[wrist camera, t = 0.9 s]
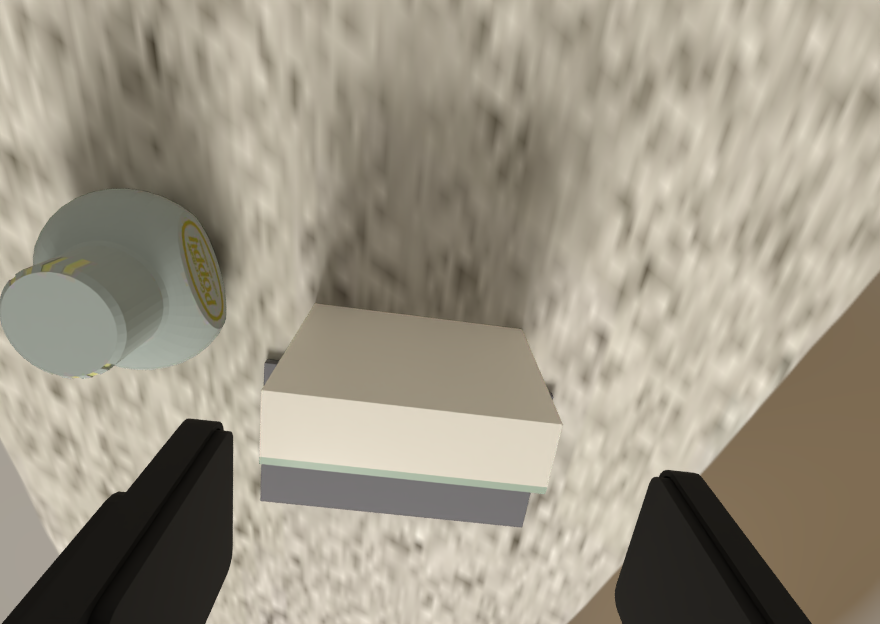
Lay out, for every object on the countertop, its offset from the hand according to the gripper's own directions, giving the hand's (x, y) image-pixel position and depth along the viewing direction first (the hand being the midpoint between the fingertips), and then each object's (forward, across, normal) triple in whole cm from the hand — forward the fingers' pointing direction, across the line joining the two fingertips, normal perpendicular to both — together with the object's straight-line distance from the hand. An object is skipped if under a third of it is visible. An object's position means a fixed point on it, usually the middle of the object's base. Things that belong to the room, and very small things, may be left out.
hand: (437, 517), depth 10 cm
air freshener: (+26, +17, +5) cm, 32 cm away
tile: (+26, 0, +8) cm, 27 cm away
